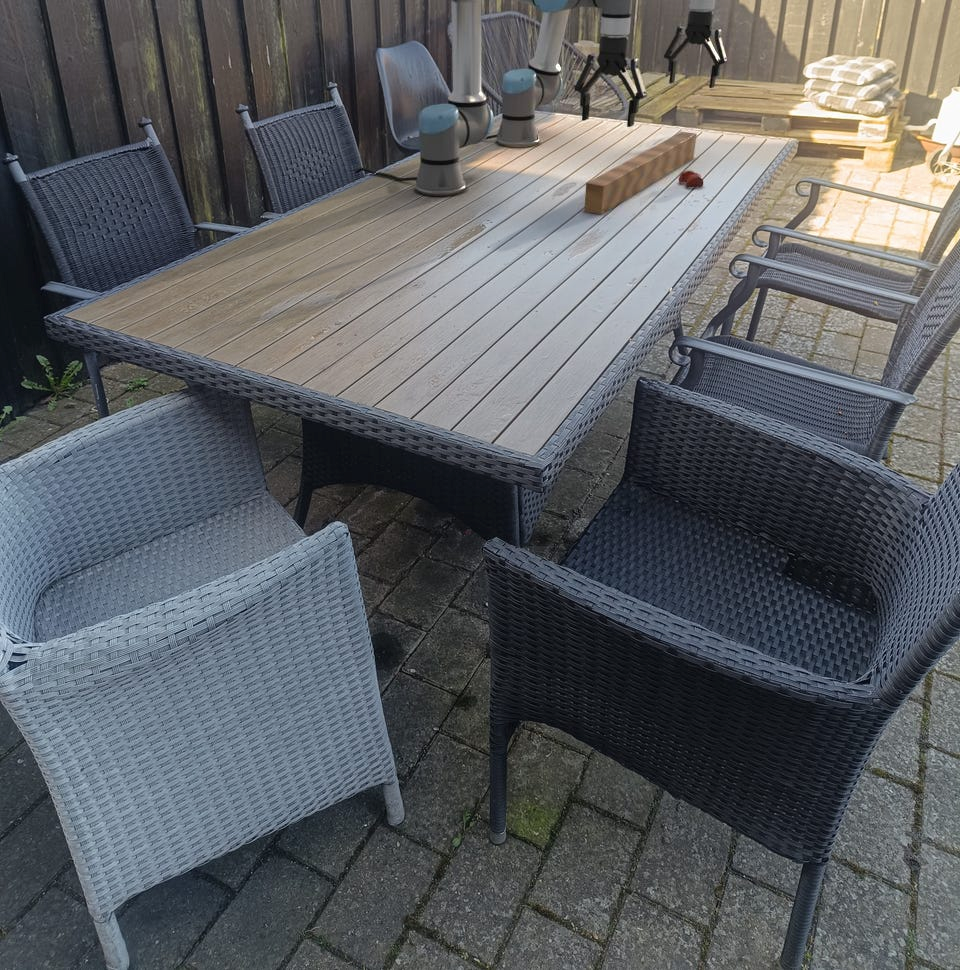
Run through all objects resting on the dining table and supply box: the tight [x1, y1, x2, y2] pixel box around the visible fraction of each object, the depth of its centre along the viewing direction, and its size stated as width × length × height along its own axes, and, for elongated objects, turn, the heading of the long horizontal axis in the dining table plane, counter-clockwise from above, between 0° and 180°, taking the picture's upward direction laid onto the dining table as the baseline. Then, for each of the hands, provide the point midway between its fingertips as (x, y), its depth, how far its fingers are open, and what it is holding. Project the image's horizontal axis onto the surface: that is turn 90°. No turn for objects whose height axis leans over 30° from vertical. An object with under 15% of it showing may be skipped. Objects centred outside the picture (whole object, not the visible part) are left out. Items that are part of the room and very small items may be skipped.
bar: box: [583, 131, 698, 215], centre depth 262 cm, size 71×5×8 cm, turn 147°
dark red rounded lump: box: [678, 169, 704, 189], centre depth 261 cm, size 6×4×8 cm
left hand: (607, 122), depth 230 cm, fingers open, 13 cm apart
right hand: (691, 85), depth 272 cm, fingers open, 13 cm apart
